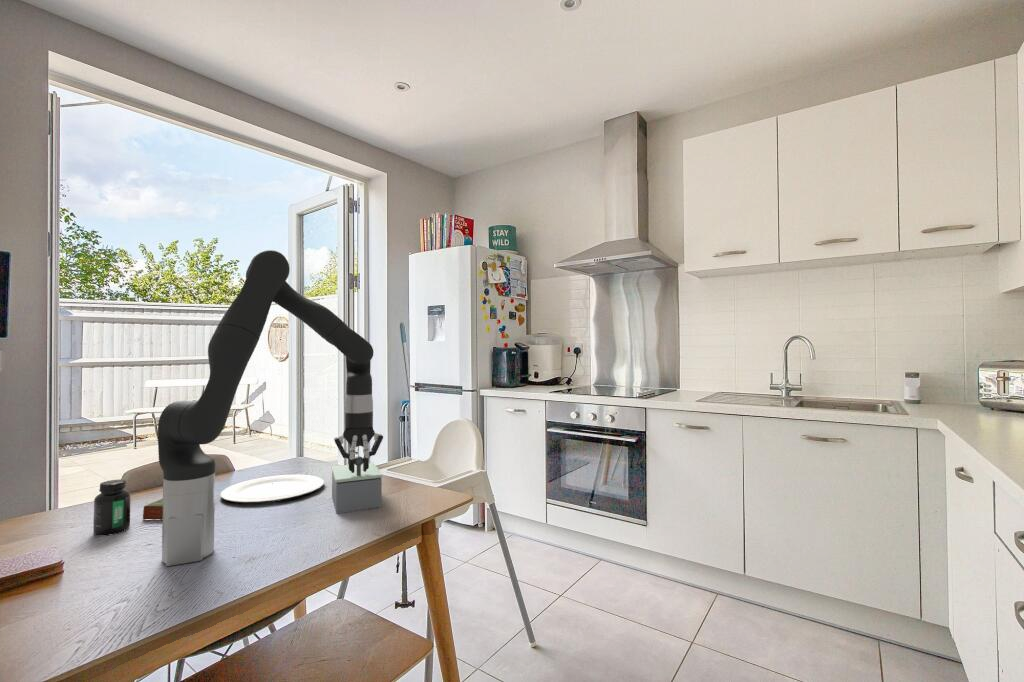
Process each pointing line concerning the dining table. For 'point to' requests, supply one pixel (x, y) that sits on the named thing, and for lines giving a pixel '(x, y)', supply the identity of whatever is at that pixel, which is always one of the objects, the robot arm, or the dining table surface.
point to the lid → (355, 472)
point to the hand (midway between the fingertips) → (358, 471)
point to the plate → (272, 488)
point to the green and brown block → (153, 510)
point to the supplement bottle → (112, 508)
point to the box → (356, 494)
